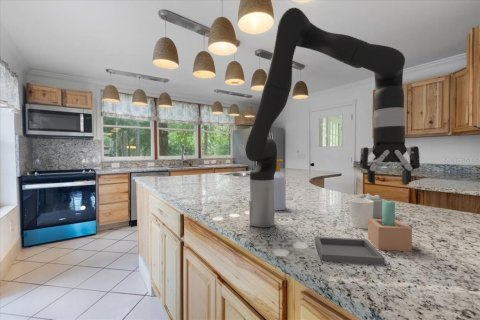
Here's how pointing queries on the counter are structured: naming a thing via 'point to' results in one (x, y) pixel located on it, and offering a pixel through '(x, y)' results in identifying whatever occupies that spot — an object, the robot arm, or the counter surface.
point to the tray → (347, 250)
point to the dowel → (388, 213)
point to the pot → (390, 235)
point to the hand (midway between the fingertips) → (388, 184)
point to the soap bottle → (279, 189)
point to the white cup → (360, 212)
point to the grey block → (377, 204)
